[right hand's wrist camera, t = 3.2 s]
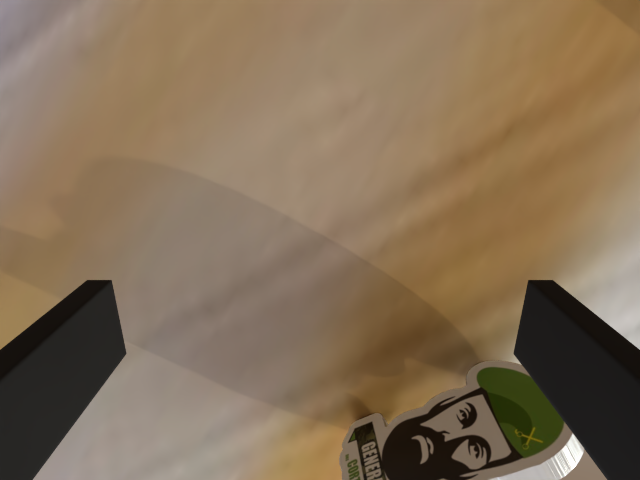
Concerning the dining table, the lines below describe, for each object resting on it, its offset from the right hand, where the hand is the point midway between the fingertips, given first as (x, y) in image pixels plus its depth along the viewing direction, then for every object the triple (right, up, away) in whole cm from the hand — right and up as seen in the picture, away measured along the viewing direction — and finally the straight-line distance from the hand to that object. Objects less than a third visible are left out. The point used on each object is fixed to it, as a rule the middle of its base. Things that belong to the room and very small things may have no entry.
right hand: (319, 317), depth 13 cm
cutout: (+14, -17, +36) cm, 42 cm away
